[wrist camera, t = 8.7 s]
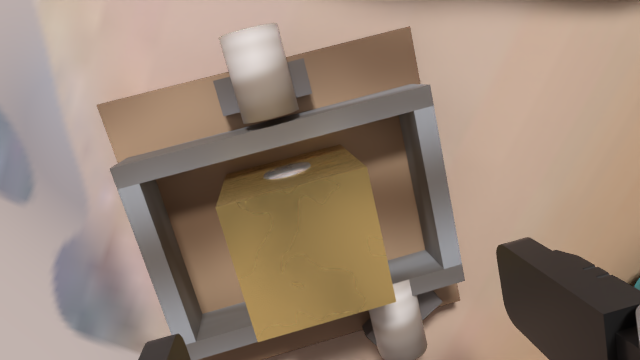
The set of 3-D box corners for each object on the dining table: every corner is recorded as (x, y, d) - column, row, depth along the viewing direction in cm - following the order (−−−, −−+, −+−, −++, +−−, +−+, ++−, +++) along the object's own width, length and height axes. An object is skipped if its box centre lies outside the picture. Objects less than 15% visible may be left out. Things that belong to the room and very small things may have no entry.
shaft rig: (454, 308, 23) (488, 348, 20) (205, 382, 22) (196, 437, 19) (397, 0, 19) (426, -16, 16) (94, 74, 19) (57, 74, 15)
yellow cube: (364, 250, 21) (396, 303, 16) (258, 280, 20) (258, 343, 16) (339, 143, 20) (366, 165, 15) (225, 173, 19) (214, 206, 14)
